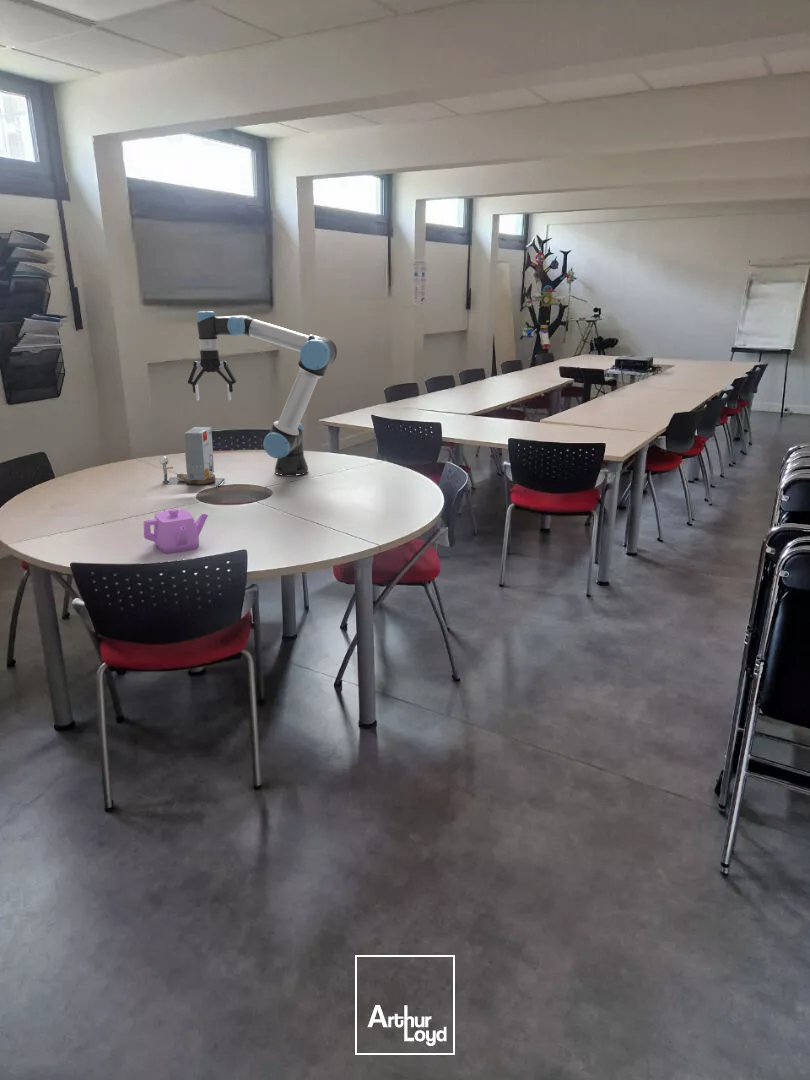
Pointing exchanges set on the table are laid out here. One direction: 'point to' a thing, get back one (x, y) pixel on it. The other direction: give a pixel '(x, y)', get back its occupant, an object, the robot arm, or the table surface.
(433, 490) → the table surface
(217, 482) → the dark grey rectangular plate
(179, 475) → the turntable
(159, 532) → the teakettle
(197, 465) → the hard drive box
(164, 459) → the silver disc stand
